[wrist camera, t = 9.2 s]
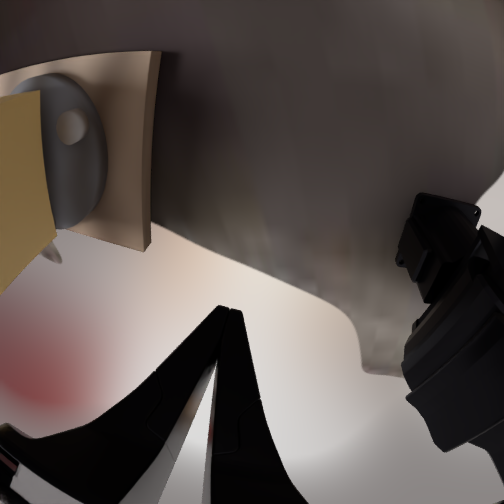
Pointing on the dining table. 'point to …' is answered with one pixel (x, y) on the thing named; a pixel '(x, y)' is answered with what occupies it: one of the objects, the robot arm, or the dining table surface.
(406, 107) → the dining table surface
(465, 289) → the robot arm
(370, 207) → the dining table surface
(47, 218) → the yellow boxy piece
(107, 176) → the level base
